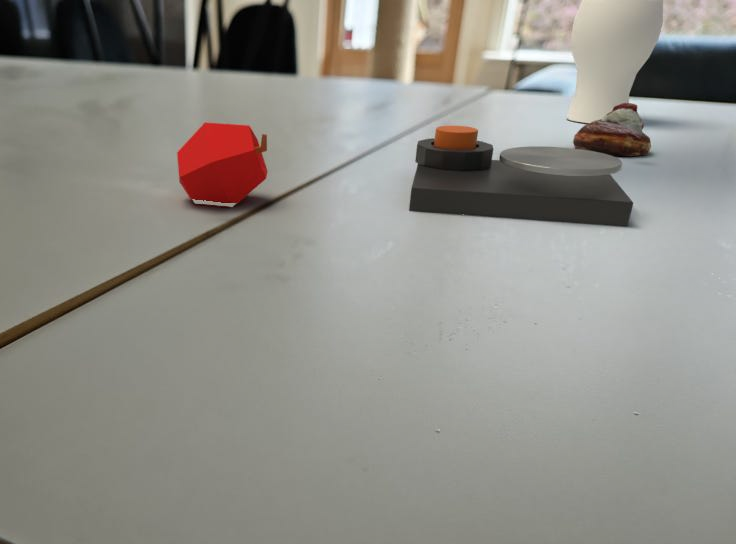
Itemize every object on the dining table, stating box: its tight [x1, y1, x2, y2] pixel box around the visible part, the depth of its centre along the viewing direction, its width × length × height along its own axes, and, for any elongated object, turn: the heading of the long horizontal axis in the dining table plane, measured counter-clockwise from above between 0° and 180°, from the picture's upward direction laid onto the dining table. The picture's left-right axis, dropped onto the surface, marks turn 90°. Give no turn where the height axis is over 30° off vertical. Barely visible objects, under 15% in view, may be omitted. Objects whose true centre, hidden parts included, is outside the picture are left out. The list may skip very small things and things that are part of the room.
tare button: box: [434, 125, 479, 149], centre depth 64 cm, size 4×4×2 cm
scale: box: [408, 137, 634, 228], centre depth 61 cm, size 16×14×4 cm
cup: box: [566, 0, 664, 124], centre depth 96 cm, size 11×11×15 cm
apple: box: [176, 122, 268, 209], centre depth 58 cm, size 7×7×8 cm
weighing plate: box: [498, 145, 623, 176], centre depth 57 cm, size 9×9×1 cm
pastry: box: [572, 102, 652, 157], centre depth 79 cm, size 8×8×5 cm
